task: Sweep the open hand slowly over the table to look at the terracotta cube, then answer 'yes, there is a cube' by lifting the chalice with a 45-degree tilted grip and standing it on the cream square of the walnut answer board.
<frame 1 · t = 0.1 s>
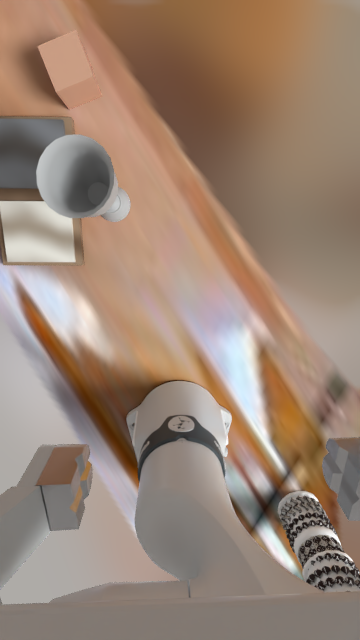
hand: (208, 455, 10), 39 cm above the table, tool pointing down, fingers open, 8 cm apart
decorative candle: (297, 506, 59), on the table
chalice: (113, 204, 44), on the table
answer board: (38, 196, 44), on the table
terracotta cube: (78, 83, 40), on the table
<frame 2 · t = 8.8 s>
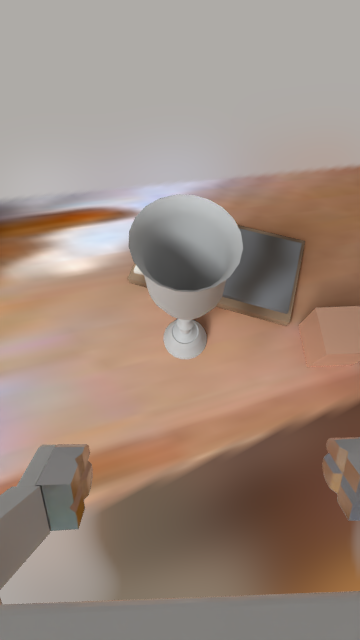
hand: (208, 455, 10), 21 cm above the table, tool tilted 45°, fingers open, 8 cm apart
chalice: (185, 338, 35), on the table
answer board: (217, 263, 38), on the table
terracotta cube: (324, 344, 34), on the table
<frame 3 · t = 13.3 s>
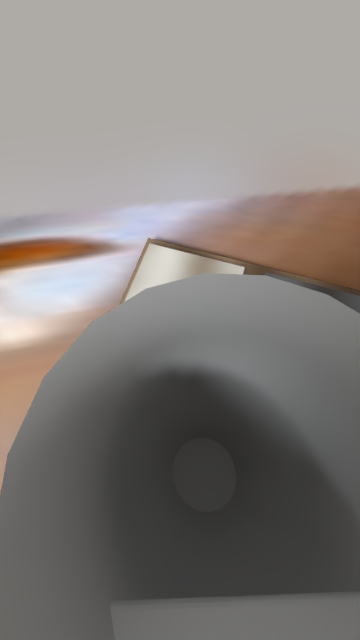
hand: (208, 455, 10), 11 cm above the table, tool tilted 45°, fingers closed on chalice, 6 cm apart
chalice: (192, 466, 20), on the table, touching gripper
answer board: (239, 328, 25), on the table
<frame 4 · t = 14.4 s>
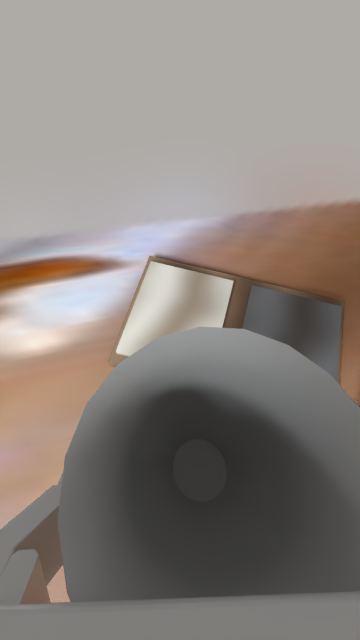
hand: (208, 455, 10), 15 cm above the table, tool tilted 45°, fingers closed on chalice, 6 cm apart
chalice: (190, 462, 22), point 2 cm above the table, touching gripper
answer board: (229, 334, 28), on the table
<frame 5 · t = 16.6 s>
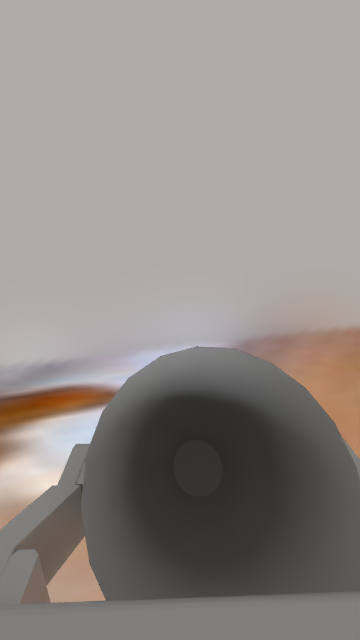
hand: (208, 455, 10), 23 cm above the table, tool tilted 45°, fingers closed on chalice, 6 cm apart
chalice: (189, 461, 24), point 7 cm above the table, touching gripper
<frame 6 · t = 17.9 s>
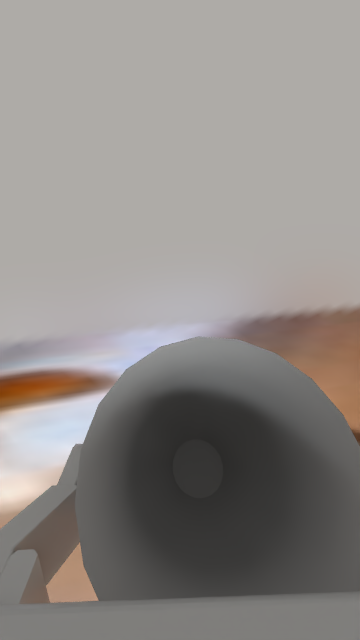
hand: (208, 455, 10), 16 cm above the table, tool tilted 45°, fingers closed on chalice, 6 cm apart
chalice: (188, 462, 23), point 1 cm above the table, touching answer board, gripper
when the fingers open (14 cm above the table, at t = 19.4 s): chalice stays where it is, resting on answer board.
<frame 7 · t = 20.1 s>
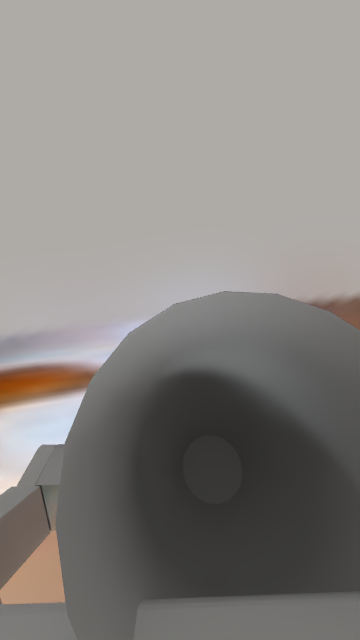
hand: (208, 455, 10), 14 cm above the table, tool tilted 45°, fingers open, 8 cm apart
chalice: (197, 463, 21), point 1 cm above the table, touching answer board
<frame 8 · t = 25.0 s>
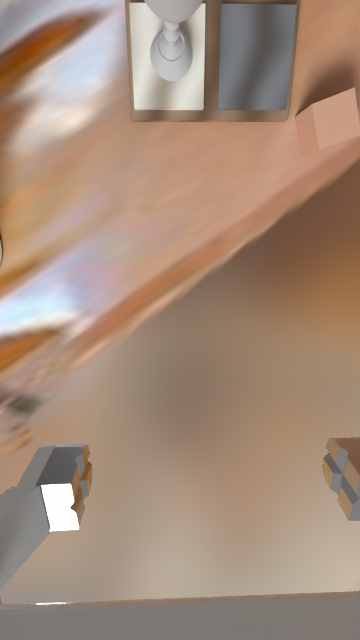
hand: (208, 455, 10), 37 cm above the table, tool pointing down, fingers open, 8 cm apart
chalice: (171, 55, 35), point 1 cm above the table, touching answer board
answer board: (210, 65, 37), on the table
terracotta cube: (316, 130, 39), on the table
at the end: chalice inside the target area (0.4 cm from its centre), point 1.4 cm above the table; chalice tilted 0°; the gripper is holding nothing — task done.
